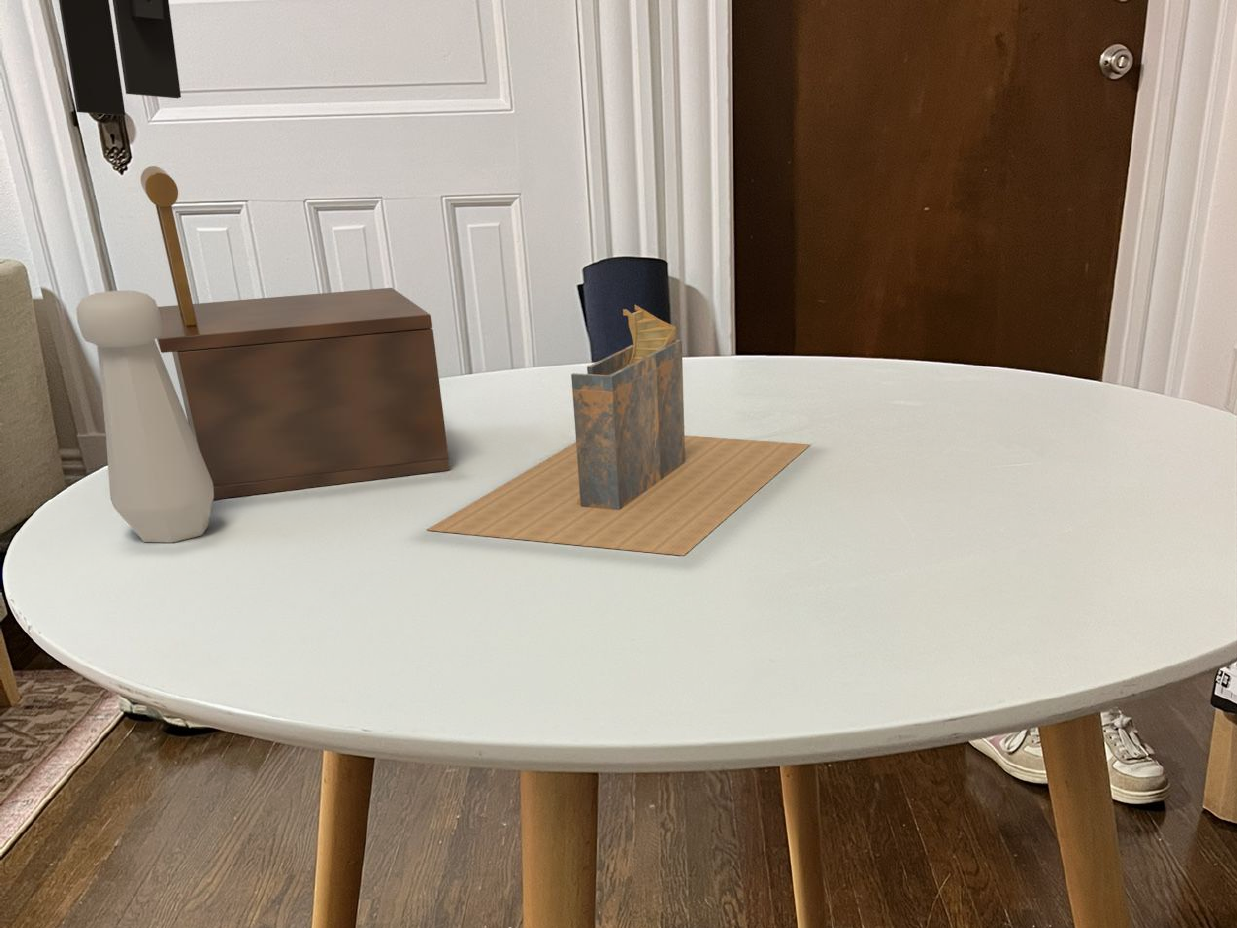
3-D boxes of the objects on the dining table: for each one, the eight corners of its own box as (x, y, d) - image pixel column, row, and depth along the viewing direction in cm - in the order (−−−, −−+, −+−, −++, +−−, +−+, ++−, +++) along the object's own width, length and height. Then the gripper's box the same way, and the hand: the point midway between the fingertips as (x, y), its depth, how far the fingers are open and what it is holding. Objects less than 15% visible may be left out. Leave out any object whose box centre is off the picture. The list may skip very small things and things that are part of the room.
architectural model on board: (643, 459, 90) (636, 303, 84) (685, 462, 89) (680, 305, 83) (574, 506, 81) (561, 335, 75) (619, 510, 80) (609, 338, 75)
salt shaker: (195, 549, 76) (135, 302, 68) (103, 547, 76) (34, 302, 69) (238, 518, 80) (187, 284, 73) (151, 516, 81) (91, 285, 74)
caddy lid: (161, 353, 79) (120, 178, 73) (150, 320, 88) (113, 164, 83) (432, 328, 83) (411, 163, 78) (394, 299, 93) (373, 151, 88)
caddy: (211, 500, 84) (177, 352, 79) (195, 454, 93) (164, 320, 89) (450, 470, 88) (432, 328, 83) (412, 429, 98) (394, 300, 93)
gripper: (-58, -325, 74) (20, 115, 84) (12, -512, 56) (102, 79, 65) (84, -294, 78) (143, 124, 87) (194, -459, 59) (253, 93, 69)
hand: (125, 106), depth 76 cm, fingers open, 13 cm apart
